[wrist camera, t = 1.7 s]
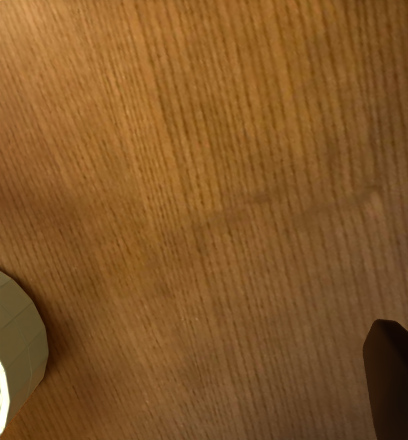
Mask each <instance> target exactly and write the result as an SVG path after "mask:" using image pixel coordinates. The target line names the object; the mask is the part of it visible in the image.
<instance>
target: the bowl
mask: <svg viewBox="0 0 408 440" xmlns="http://www.w3.org/2000/svg"><path fill="white" fill-rule="evenodd" d="M48 353H49V350H48V343H47V335H46V328H45V325H44V323H43V321H42V319H41V317H40V315H39V313H38V311H37V309H36V307H35V304H34V303H33V301H32V300H31V298H30V297H29V296H28V295H27V294H26V293H25V292H24V291H23V289H22V288H21V287H20V286H19V285H18V284H17V283H16V282H15V280H14V279H12V278H10V277H9V276H7V275H6V274H4V273H3V272H1V271H0V437H1V436H2V434H3V433H4V432H5V430H6V429H7V428H8V426H9V425H10V424H11V422H12V421H13V419H14V418H15V417H16V415H17V414H18V413H19V411H20V410H21V409H22V407H23V406H24V405H25V403H26V402H27V401H28V399H29V398H30V397H31V395H32V394H33V392H34V391H35V389H36V388H37V386H38V385H39V383H40V382H41V380H42V379H43V377H44V373H45V369H46V364H47V360H48V355H49V354H48Z"/></svg>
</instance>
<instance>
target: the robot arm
mask: <svg viewBox="0 0 408 440" xmlns="http://www.w3.org/2000/svg"><path fill="white" fill-rule="evenodd" d="M363 359H364V366H365V372H366V379H367V385H368V392H369V399H370V405H371V412H372V418H373V423H374V428H375V432H376V437H377V440H408V331H407V330H406V329H405V328H403V327H402V326H401V325H400V324H399V323H398V322H396V321H392V320H383V319H377V320H375V321H374V322H373V324H372V326H371V329H370V331H369V333H368V335H367V338H366V340H365V342H364V345H363Z"/></svg>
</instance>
